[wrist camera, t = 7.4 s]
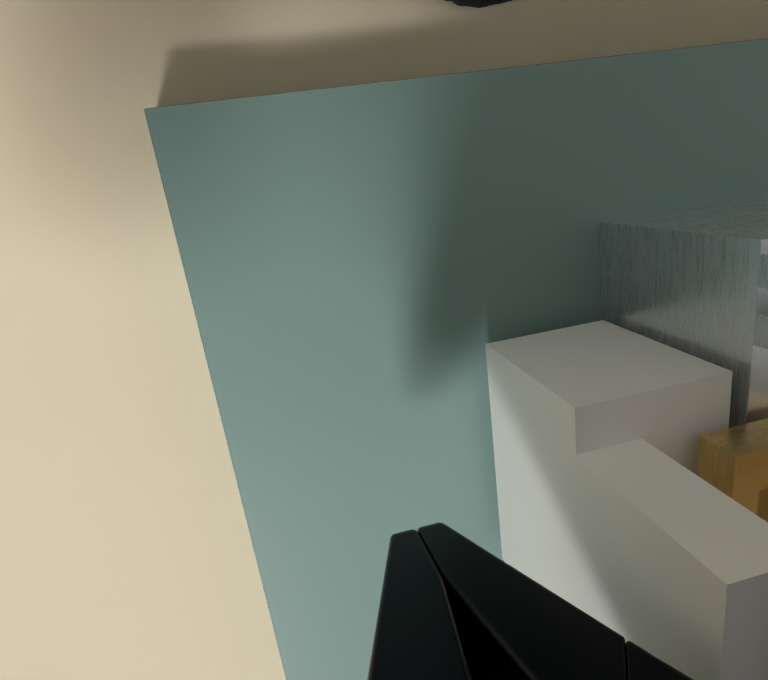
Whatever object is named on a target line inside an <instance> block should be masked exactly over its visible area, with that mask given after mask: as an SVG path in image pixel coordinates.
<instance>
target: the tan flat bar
mask: <svg viewBox="0 0 768 680" xmlns="http://www.w3.org/2000/svg"><path fill="white" fill-rule="evenodd" d="M697 476H699V477H700V478H702V479H703V480H705V481H706V482H708V483H709V484H711V485H712V486H714V487H715V488H717V489H718V490H720V491H721V492H723V493H724V494H726V495H727V496H729V497H730V498H732V499H733V500H735V501H736V502H738V503H739V504H741V505H742V506H744V507H745V508H747V509H748V510H750V511H751V512H753V513H754V514H756V515H757V516H759V517H760V518H762V519H763V520H765V521H766V522H768V418H767V419H763V420H759V421H755V422H751V423H747V424H742V425H738V426H734V427H730V428H726V429H722V430H718V431H714V432H710V433H706V434H702V435H699V446H698V466H697Z"/></svg>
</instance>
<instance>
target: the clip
mask: <svg viewBox="0 0 768 680" xmlns="http://www.w3.org/2000/svg"><path fill="white" fill-rule="evenodd" d="M485 346H486V359H487V372H488V384H489V397H490V409H491V422H492V435H493V447H494V460H495V472H496V485H497V497H498V510H499V523H500V535H501V548H502V559H503V560H504V562H506V563H507V564H509V565H511V566H512V567H514V568H515V569H517V570H518V571H520V572H522V573H523V574H525V575H526V576H528V577H530V578H531V579H533V580H534V581H536V582H537V583H539V584H541V585H542V586H544V587H545V588H547V589H549V590H550V591H552V592H553V593H555V594H557V595H558V596H560V597H561V598H563V599H564V600H566V601H568V602H569V603H571V604H572V605H574V606H576V607H577V608H579V609H580V610H582V611H583V612H585V613H587V614H588V615H590V616H591V617H593V618H595V619H596V620H598V621H599V622H601V623H603V624H604V625H606V626H607V627H609V628H610V629H612V630H614V631H615V632H617V633H618V634H620V635H622V636H623V637H624V638H625V643H626V642H627V641H631V642H633V643H635V644H636V645H638V646H639V647H641V648H643V649H644V650H646V651H647V652H649V653H651V654H652V655H654V656H655V657H657V658H659V659H660V660H662V661H664V662H665V663H667V664H669V665H670V666H672V667H674V668H675V669H677V670H679V671H680V672H682V673H684V674H685V675H687V676H689V677H690V678H692V679H694V680H768V522H766V521H765V520H763V519H762V518H760V517H759V516H757V515H756V514H754V513H753V512H751V511H750V510H748V509H747V508H745V507H744V506H742V505H741V504H739V503H738V502H736V501H735V500H733V499H732V498H730V497H729V496H727V495H726V494H724V493H723V492H721V491H720V490H718V489H717V488H715V487H714V486H712V485H711V484H709V483H708V482H706V481H705V480H703V479H702V478H700V477H699V476H697V466H698V446H699V435H702V434H706V433H710V432H714V431H718V430H722V429H726V428H729V416H730V402H731V388H732V374H733V371H730V370H728V369H725V368H723V367H720V366H718V365H715V364H713V363H710V362H708V361H705V360H703V359H700V358H698V357H695V356H693V355H690V354H687V353H685V352H682V351H680V350H677V349H675V348H672V347H670V346H667V345H665V344H662V343H660V342H657V341H655V340H652V339H650V338H647V337H645V336H642V335H640V334H637V333H635V332H632V331H630V330H627V329H624V328H622V327H619V326H617V325H614V324H612V323H609V322H607V321H604V320H601V321H596V322H591V323H586V324H581V325H576V326H571V327H566V328H561V329H556V330H551V331H546V332H541V333H537V334H532V335H527V336H522V337H517V338H512V339H507V340H502V341H497V342H492V343H487V344H485Z"/></svg>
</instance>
